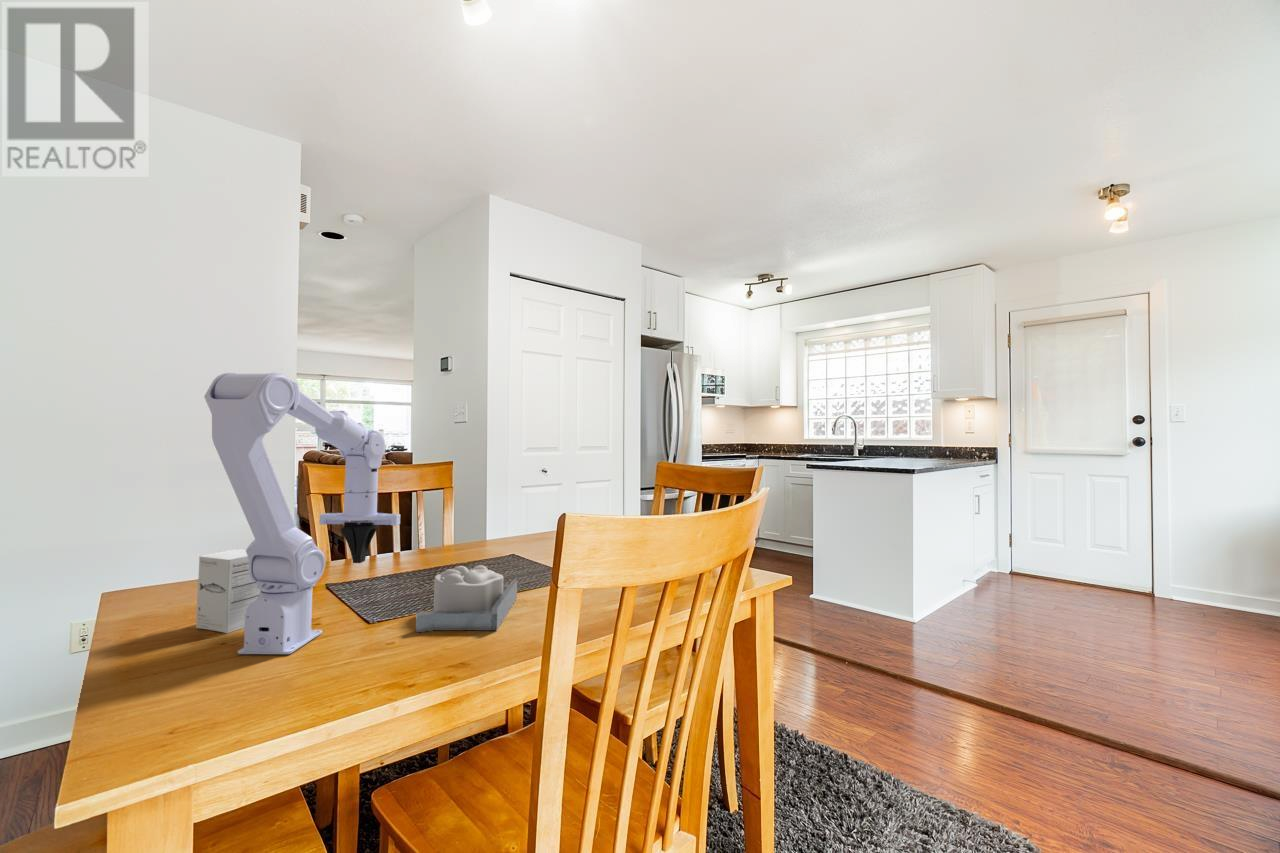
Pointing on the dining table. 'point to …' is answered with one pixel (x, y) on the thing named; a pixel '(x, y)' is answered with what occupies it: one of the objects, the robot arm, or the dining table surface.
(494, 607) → the bracket
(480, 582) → the lumpy-topped squat cylinder
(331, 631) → the dining table surface
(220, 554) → the supplement box
